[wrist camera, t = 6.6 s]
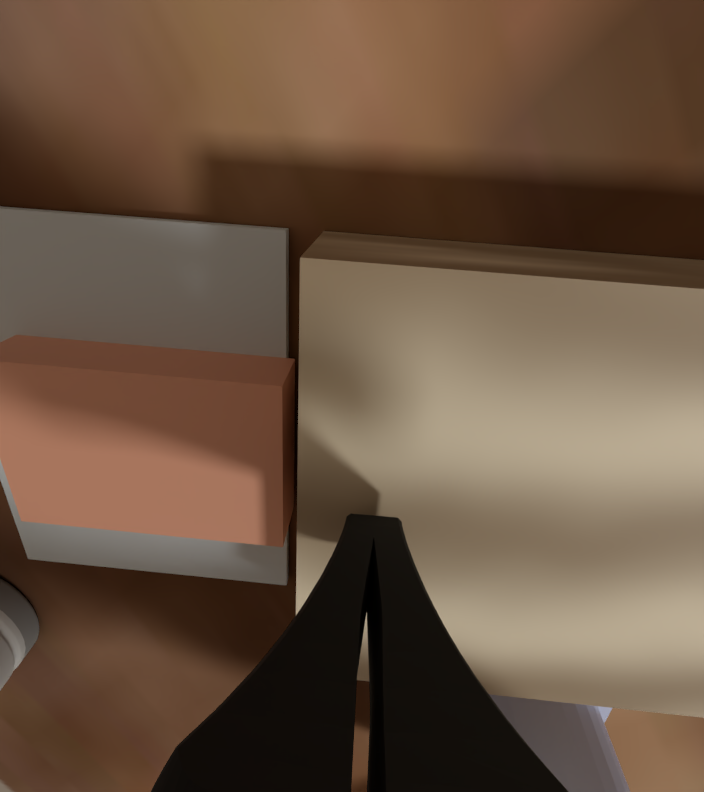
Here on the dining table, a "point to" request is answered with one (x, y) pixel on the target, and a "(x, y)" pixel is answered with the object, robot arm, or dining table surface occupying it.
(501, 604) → the board
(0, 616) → the travel mug
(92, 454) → the terracotta brown block
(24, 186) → the dining table surface
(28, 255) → the mat
